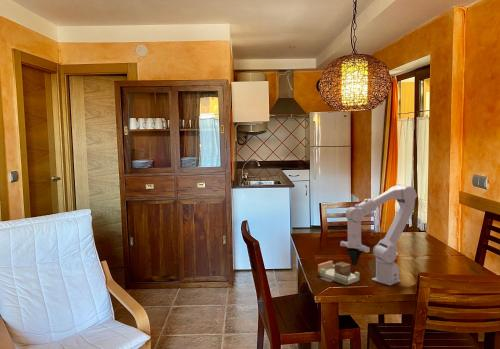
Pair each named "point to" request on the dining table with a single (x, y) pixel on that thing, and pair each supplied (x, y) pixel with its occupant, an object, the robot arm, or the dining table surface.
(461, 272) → the dining table surface
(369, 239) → the dining table surface
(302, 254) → the dining table surface
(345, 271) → the walnut block
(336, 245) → the dining table surface
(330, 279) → the mats
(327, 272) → the trap lane
